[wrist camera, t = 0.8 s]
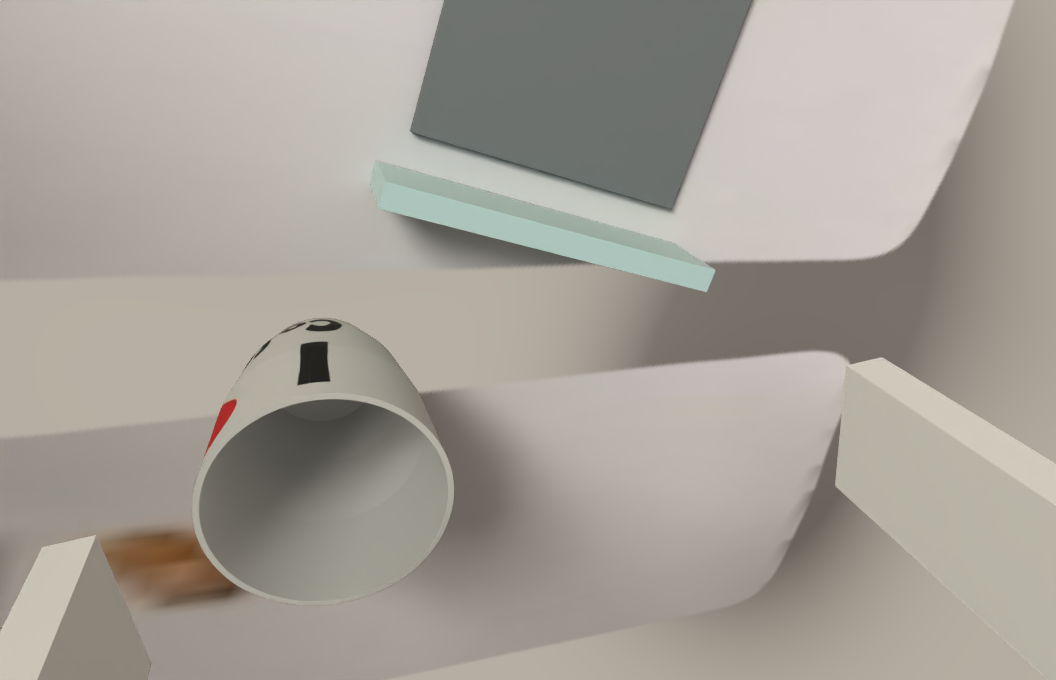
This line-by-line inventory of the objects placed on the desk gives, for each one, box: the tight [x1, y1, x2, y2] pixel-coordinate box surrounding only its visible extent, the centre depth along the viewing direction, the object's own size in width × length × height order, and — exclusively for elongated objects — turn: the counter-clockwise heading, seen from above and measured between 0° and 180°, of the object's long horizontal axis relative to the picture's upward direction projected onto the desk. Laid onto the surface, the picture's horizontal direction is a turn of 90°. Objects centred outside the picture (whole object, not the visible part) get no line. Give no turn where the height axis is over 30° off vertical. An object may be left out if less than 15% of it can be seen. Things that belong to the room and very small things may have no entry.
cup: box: [192, 318, 454, 606], centre depth 29 cm, size 8×8×10 cm
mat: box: [410, 0, 751, 209], centre depth 30 cm, size 12×12×1 cm
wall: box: [370, 161, 715, 292], centre depth 31 cm, size 14×1×4 cm, turn 71°
